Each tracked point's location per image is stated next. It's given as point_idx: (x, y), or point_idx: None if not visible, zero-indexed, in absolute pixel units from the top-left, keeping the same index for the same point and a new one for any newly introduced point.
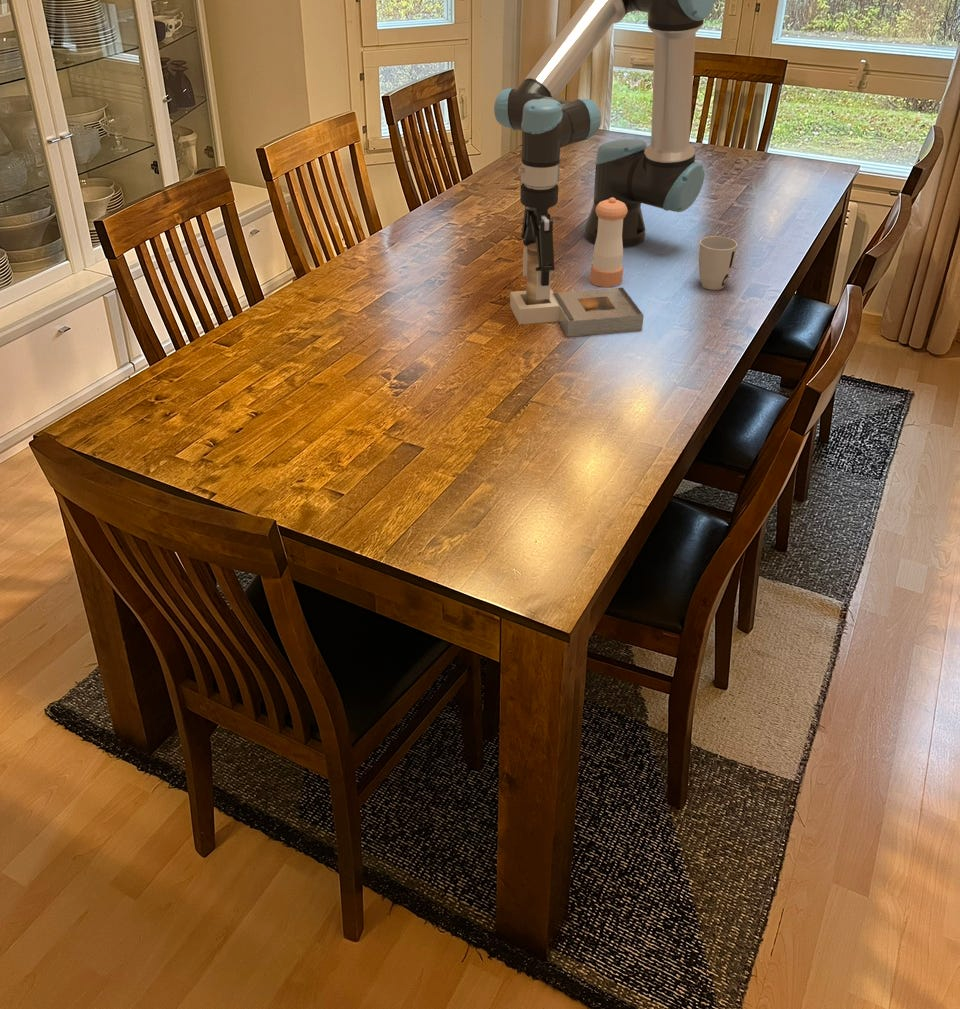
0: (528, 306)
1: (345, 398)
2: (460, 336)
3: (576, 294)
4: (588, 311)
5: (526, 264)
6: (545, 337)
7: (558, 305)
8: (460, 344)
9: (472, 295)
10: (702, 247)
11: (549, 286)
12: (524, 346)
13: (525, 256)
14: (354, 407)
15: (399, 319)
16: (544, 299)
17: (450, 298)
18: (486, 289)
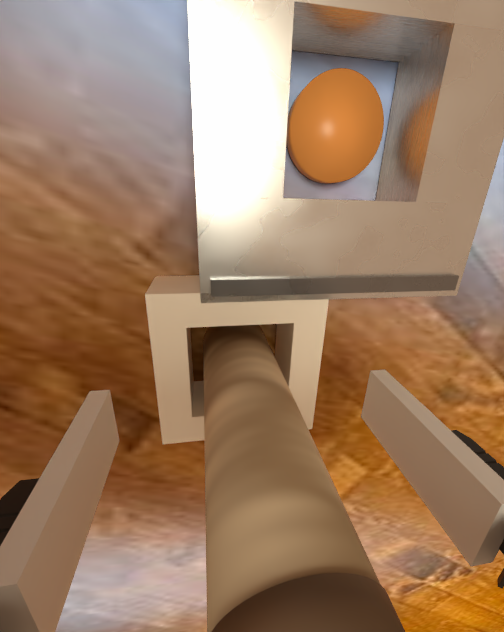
0: (300, 402)
1: (443, 614)
2: None
3: (233, 188)
4: (299, 152)
5: (98, 487)
6: (389, 340)
7: (323, 301)
8: (350, 508)
9: None
10: None
11: (424, 411)
12: None
13: (80, 549)
14: (469, 603)
15: (205, 600)
16: (261, 344)
17: (93, 533)
18: (18, 456)
